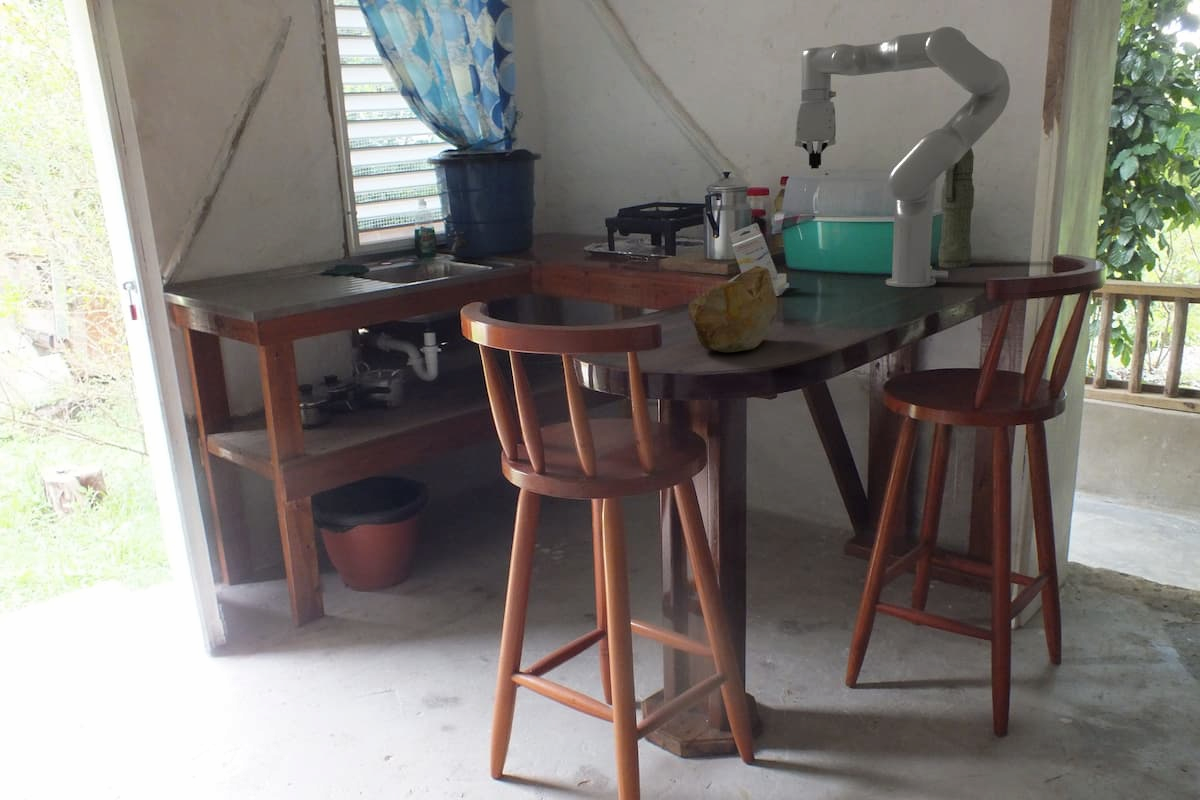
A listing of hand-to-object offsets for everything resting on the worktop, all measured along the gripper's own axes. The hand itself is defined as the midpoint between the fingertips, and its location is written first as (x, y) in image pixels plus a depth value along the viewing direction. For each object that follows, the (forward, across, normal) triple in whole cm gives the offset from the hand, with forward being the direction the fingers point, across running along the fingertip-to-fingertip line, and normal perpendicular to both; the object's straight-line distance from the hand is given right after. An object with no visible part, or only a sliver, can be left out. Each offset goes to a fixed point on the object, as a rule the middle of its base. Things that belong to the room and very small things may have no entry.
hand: (814, 168), depth 260 cm
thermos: (+31, -36, -32) cm, 57 cm away
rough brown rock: (+31, +4, +85) cm, 91 cm away
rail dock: (+31, +12, +18) cm, 38 cm away
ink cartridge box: (+28, +11, +17) cm, 35 cm away
